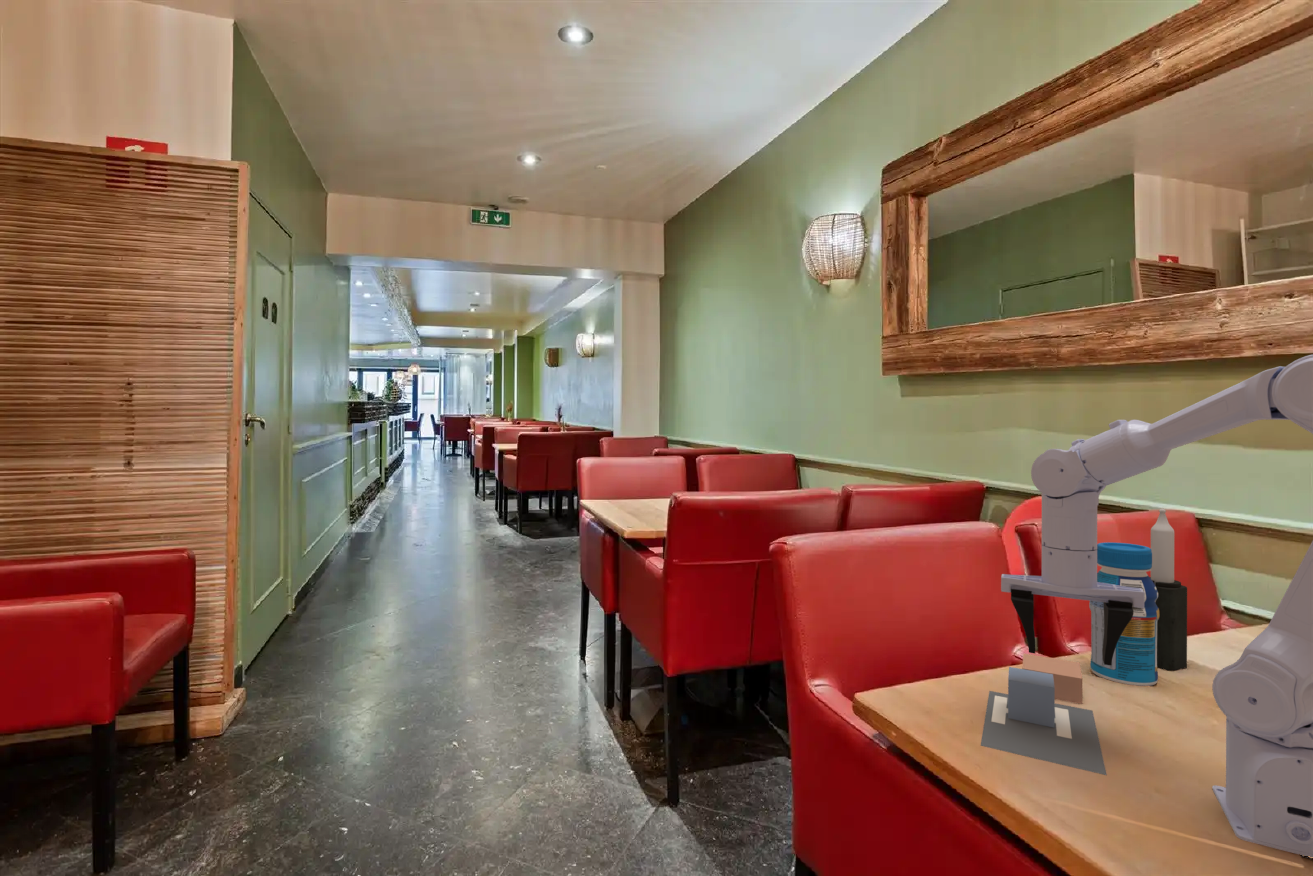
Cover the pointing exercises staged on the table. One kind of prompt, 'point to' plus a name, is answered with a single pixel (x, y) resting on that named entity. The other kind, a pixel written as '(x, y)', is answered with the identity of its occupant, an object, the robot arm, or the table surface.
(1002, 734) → the letter mat
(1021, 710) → the blue cube
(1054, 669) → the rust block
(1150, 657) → the blue supplement bottle
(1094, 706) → the table surface
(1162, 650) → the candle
